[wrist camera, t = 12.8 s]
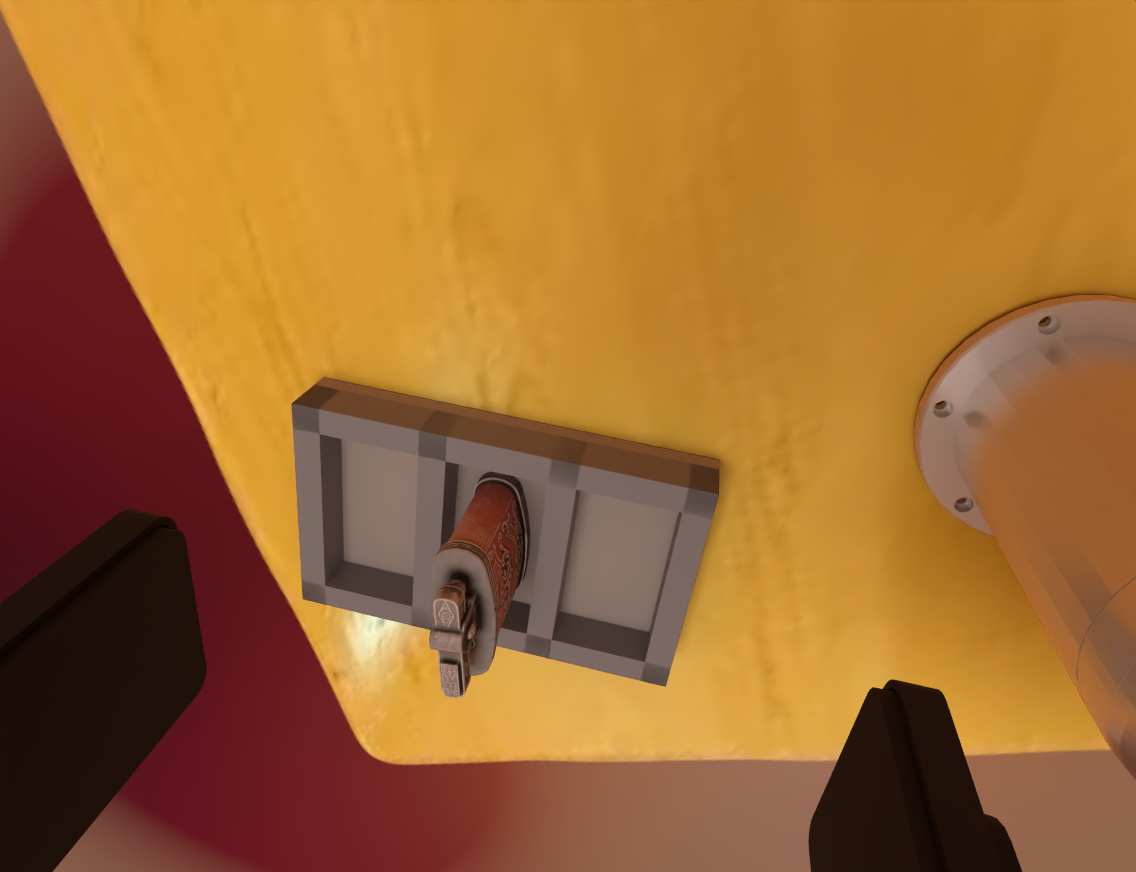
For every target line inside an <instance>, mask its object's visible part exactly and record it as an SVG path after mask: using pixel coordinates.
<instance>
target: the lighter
mask: <svg viewBox="0 0 1136 872" xmlns="http://www.w3.org/2000/svg"><path fill="white" fill-rule="evenodd" d="M530 536H531V531H530V522H529V512H528V507H527V503H526V498H525V494H524V490H523V486H522V484H521V482H520V481H519V480H518V479H517V478H516V477H515V476H510V475H506V474H501V473H496V472H492V471H490V472H487V473H485V474H484V475H483V476H481V477H480V479H479V481H478V483H477V484H476V486H475V489H474V493H473V499H472V500H471V502H470V504H469V506H468V508H467V509H466V511H465V513H464V515H463V516H462V518H461V520H460V522H459V524H458V525H457V527H456V529H455V531H454V532H453V534H452V536H451V538H450V540H449V541H448V542H447V543H445V544H444V545H443V546H441V547H440V549H439V551H438V553H437V554H436V556H435V558H434V561H433V565H432V572H431V580H430V613H431V619H432V628H431V631H430V639H429V641H430V648H431V649H434V650H438V658H439V668H440V678H441V688H442V691H443V692H444V695H445V696H447V697H451V698H459V697H462V696H463V695H464V694H465V692H466V689H467V687H468V684H469V682H470V678H471V675H473V676H476V675H480V674H483V673H485V672H486V671H488V669H489V667H490V666H491V663H492V660H493V658H494V655H495V650H496V645H497V640H498V635H499V632H500V629H501V627H502V624H503V622H504V619H505V616H506V614H507V611H508V609H509V606H510V603H511V601H512V598H513V596H514V593H515V591H517V590H518V589H519V588H520V586H521V584H522V582H523V579H524V577H525V573H526V568H527V564H528V559H529V552H530Z"/></svg>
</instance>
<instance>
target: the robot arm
mask: <svg viewBox="0 0 1136 872" xmlns="http://www.w3.org/2000/svg"><path fill="white" fill-rule="evenodd" d="M1046 316H1048V317H1047V320H1046V321H1045V322H1043V323H1039V322H1040V321H1041V319H1042V318H1044V317H1046ZM1038 323H1039V324H1038ZM940 401H944V402H943V403H942V404H941V405H936V403H938V402H940ZM914 449H915V453H916V457H917V461H918V465H919V468H920V470H921V473H922V475H923V477H924V479H925V482H926V484H927V486H928V487H929V489H930V490H931V492H932V493H933V495H934V496H935V498H936V499H937V501H938V502H939V503H940V504H941V505H942V506H943V507H944V508H945V509H946V510H947V511H948V512H949V513H950V514H951V515H952V516H954V517H955V518H957V519H958V520H960V521H962V522H963V523H965V524H966V525H968V526H970V527H971V528H973V529H975V530H978V531H980V532H983V533H986V534H988V535H991V536H993V537H994V538H995V539H996V541H997V543H998V545H999V547H1000V549H1001V550H1002V552H1003V554H1004V556H1005V558H1006V560H1007V561H1008V563H1009V565H1010V567H1011V569H1012V571H1013V573H1014V574H1015V576H1016V578H1017V580H1018V582H1019V584H1020V585H1021V587H1022V589H1023V591H1024V593H1025V595H1026V596H1027V598H1028V600H1029V602H1030V604H1031V606H1032V608H1033V609H1034V611H1035V613H1036V615H1037V617H1038V619H1039V620H1040V622H1041V624H1042V626H1043V628H1044V630H1045V631H1046V633H1047V635H1048V637H1049V639H1050V641H1051V643H1052V644H1053V646H1054V648H1055V650H1056V652H1057V654H1058V655H1059V657H1060V659H1061V661H1062V663H1063V665H1064V666H1065V668H1066V670H1067V672H1068V674H1069V676H1070V677H1071V679H1072V681H1073V683H1074V685H1075V687H1076V689H1077V690H1078V692H1079V694H1080V696H1081V698H1082V699H1083V701H1084V703H1085V704H1086V706H1087V708H1088V710H1089V712H1090V714H1091V715H1092V717H1093V719H1094V721H1095V723H1096V724H1097V726H1098V728H1099V730H1100V732H1101V733H1102V735H1103V737H1104V739H1105V740H1106V742H1107V743H1108V745H1109V746H1110V748H1111V749H1112V751H1113V753H1114V754H1115V755H1116V757H1117V758H1118V759H1119V761H1120V762H1121V763H1122V764H1123V765H1124V767H1125V768H1126V769H1127V770H1128V772H1129V773H1130V774H1131V775H1132V776H1133V777H1134V778H1135V779H1136V300H1134V299H1129V298H1123V297H1117V296H1112V295H1075V296H1068V297H1062V298H1056V299H1050V300H1045V301H1042V302H1039V303H1036V304H1033V305H1030V306H1027V307H1024V308H1020V309H1017V310H1015V311H1013V312H1011V313H1009V314H1007V315H1005V316H1003V317H1001V318H999V319H997V320H995V321H993V322H991V323H989V324H988V325H986V326H985V327H983V328H982V329H981V330H979V331H978V332H976V333H975V334H974V335H972V336H971V337H969V338H968V339H966V340H965V341H964V342H963V343H962V344H961V345H960V346H959V347H958V348H957V349H956V350H955V351H954V352H953V353H952V354H951V355H950V356H949V357H948V358H947V359H946V360H945V361H944V362H943V364H942V365H941V366H940V368H939V369H938V370H937V372H936V373H935V375H934V376H933V377H932V379H931V380H930V382H929V384H928V386H927V388H926V390H925V392H924V395H923V397H922V399H921V401H920V403H919V407H918V411H917V416H916V420H915V424H914ZM206 672H207V670H206V661H205V655H204V649H203V643H202V637H201V631H200V624H199V618H198V613H197V606H196V600H195V594H194V588H193V582H192V576H191V570H190V564H189V557H188V551H187V545H186V540H185V536H184V534H183V533H182V532H181V531H178V529H177V526H176V523H175V522H174V521H173V520H172V519H171V518H168V517H164V516H160V515H155V514H151V513H146V512H141V511H137V510H133V509H129V510H124V511H122V512H120V513H119V514H117V515H116V516H114V517H113V518H112V519H111V520H109V521H108V522H106V523H105V524H104V525H103V526H101V527H100V528H99V529H97V530H96V531H95V532H93V533H92V534H91V535H89V536H88V537H87V538H86V539H85V540H83V541H82V542H80V543H79V544H78V545H76V546H75V547H74V548H73V549H71V550H70V551H69V552H67V553H66V554H65V555H63V556H62V557H61V558H59V559H58V560H57V561H56V562H54V563H53V564H52V565H50V566H49V567H48V568H47V569H45V570H44V571H43V572H41V573H40V574H39V575H38V576H36V577H35V578H33V579H32V580H31V581H29V582H28V583H27V584H25V585H24V586H23V587H22V588H20V589H19V590H18V591H16V592H15V593H14V594H12V595H11V596H10V597H9V598H7V599H6V600H5V601H3V602H2V603H1V604H0V872H53V871H54V869H55V868H56V867H57V866H58V865H59V863H60V862H61V861H62V860H63V858H64V857H65V856H66V854H68V852H69V851H70V850H71V849H72V847H73V846H74V845H75V844H76V842H77V841H78V840H79V839H80V838H81V836H82V835H83V834H84V833H85V832H86V830H87V829H88V828H89V827H90V825H91V824H92V823H93V822H94V821H95V819H96V818H97V817H98V816H99V814H100V813H101V812H102V811H103V810H104V808H105V807H106V806H107V804H108V803H109V802H110V801H111V800H112V798H113V797H114V796H115V795H116V794H117V792H118V791H119V790H120V789H121V788H122V786H123V785H124V784H125V783H126V781H127V780H128V779H129V778H130V776H131V775H132V774H133V773H134V772H135V770H136V769H137V768H138V767H139V765H140V764H141V763H142V762H143V761H144V759H145V758H146V757H147V756H148V755H149V753H150V752H151V751H152V750H153V748H154V747H155V746H156V745H157V744H158V742H159V741H160V740H161V739H162V737H163V736H164V735H165V734H166V733H167V731H168V730H169V729H170V728H171V726H172V725H173V724H174V723H175V721H176V720H177V719H178V718H179V717H180V716H181V714H182V713H183V712H184V711H185V709H186V708H187V707H188V706H189V705H190V703H191V702H192V701H193V699H194V698H195V697H196V696H197V694H198V693H199V692H200V690H201V688H202V686H203V684H204V681H205V678H206ZM809 855H810V865H811V872H1022V870H1021V867H1020V864H1019V862H1018V859H1017V856H1016V853H1015V850H1014V848H1013V845H1012V842H1011V840H1010V838H1009V836H1008V833H1007V831H1006V829H1005V827H1004V826H1003V825H1002V824H1001V823H1000V822H999V820H997V818H994V817H992V816H990V815H986V814H984V812H983V809H982V806H981V803H980V800H979V797H978V795H977V792H976V788H975V785H974V782H973V779H972V777H971V773H970V770H969V767H968V764H967V761H966V758H965V755H964V752H963V749H962V746H961V743H960V740H959V737H958V734H957V731H956V728H955V725H954V722H953V719H952V716H951V713H950V710H949V707H948V704H947V701H946V699H945V697H944V695H943V693H942V692H941V691H940V690H938V689H934V688H929V687H925V686H920V685H916V684H911V683H907V682H902V681H898V680H889V681H888V682H887V683H886V685H885V686H884V688H883V689H879V688H874V687H873V688H871V689H870V690H869V692H868V694H867V696H866V698H865V700H864V703H863V705H862V707H861V709H860V712H859V714H858V716H857V718H856V721H855V723H854V725H853V727H852V730H851V732H850V734H849V736H848V739H847V741H846V743H845V745H844V748H843V750H842V752H841V754H840V757H839V759H838V761H837V763H836V766H835V768H834V770H833V772H832V775H831V777H830V779H829V782H828V784H827V786H826V788H825V790H824V793H823V795H822V797H821V799H820V801H819V804H818V806H817V808H816V811H815V813H814V815H813V818H812V820H811V825H810V831H809Z"/></svg>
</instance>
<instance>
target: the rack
mask: <svg viewBox="0 0 1136 872" xmlns="http://www.w3.org/2000/svg"><path fill="white" fill-rule="evenodd" d="M292 418H293V436H294V453H295V471H296V489H297V506H298V524H299V542H300V560H301V577H302V595H303V599H304V600H308V601H313V602H317V603H321V604H325V605H329V606H333V607H337V608H342V609H346V610H350V611H354V612H358V613H362V614H366V615H371V616H375V617H379V618H383V619H387V620H391V621H395V622H400V623H404V624H408V625H412V626H416V627H420V628H424V629H429V630H431V628H432V619H431V613H430V580H431V572H432V565H433V561H434V558H435V556H436V554H437V553H438V551H439V549H440V547H441V546H443V545H444V544H445V543H447V542H448V541H449V540H450V538H451V536H452V534H453V532H454V531H455V529H456V527H457V525H458V524H459V522H460V520H461V518H462V516H463V515H464V513H465V511H466V509H467V508H468V506H469V504H470V502H471V500H472V499H473V493H474V489H475V486H476V484H477V483H478V481H479V479H480V477H481V476H483V475H484V474H485V473H487V472H490V471H492V472H496V473H501V474H506V475H510V476H515V477H516V478H517V479H518V480H519V481H520V482H521V484H522V486H523V490H524V494H525V498H526V503H527V507H528V512H529V522H530V531H531V536H530V552H529V559H528V564H527V568H526V573H525V577H524V579H523V582H522V584H521V586H520V588H519V589H518V590H517V591H515V593H514V596H513V598H512V601H511V603H510V606H509V609H508V611H507V614H506V616H505V619H504V622H503V624H502V627H501V629H500V632H499V635H498V640H497V645H496V646H499V647H503V648H507V649H511V650H516V651H520V652H524V653H528V654H532V655H536V656H540V657H545V658H549V659H553V660H557V661H561V662H565V663H569V664H574V665H578V666H582V667H586V668H590V669H594V670H598V671H603V672H607V673H611V674H615V675H619V676H623V677H627V678H632V679H636V680H640V681H644V682H648V683H652V684H656V685H661V686H665V687H666V684H667V680H668V676H669V673H670V669H671V666H672V662H673V658H674V655H675V651H676V647H677V644H678V640H679V637H680V633H681V629H682V626H683V622H684V619H685V615H686V611H687V608H688V604H689V600H690V597H691V593H692V590H693V586H694V582H695V579H696V575H697V572H698V568H699V564H700V561H701V557H702V553H703V550H704V546H705V543H706V539H707V535H708V532H709V528H710V525H711V521H712V517H713V514H714V510H715V507H716V503H717V499H718V496H719V460H717V459H712V458H707V457H703V456H698V455H693V454H688V453H683V452H679V451H674V450H669V449H664V448H659V447H654V446H650V445H645V444H640V443H635V442H630V441H626V440H621V439H616V438H611V437H606V436H602V435H597V434H592V433H587V432H582V431H578V430H573V429H568V428H563V427H558V426H554V425H549V424H544V423H539V422H534V421H530V420H525V419H520V418H515V417H510V416H506V415H501V414H496V413H491V412H486V411H482V410H477V409H472V408H467V407H462V406H458V405H453V404H448V403H443V402H438V401H434V400H429V399H424V398H419V397H414V396H410V395H405V394H400V393H395V392H390V391H386V390H381V389H376V388H371V387H366V386H362V385H357V384H352V383H347V382H342V381H338V380H333V379H328V378H322V379H321V380H320V381H319V382H317V383H316V384H315V385H314V386H312V387H311V388H310V389H309V390H308V391H306V392H305V393H304V394H303V395H302V396H300V397H299V398H298V399H297V400H295V401H294V402H293V403H292Z"/></svg>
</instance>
